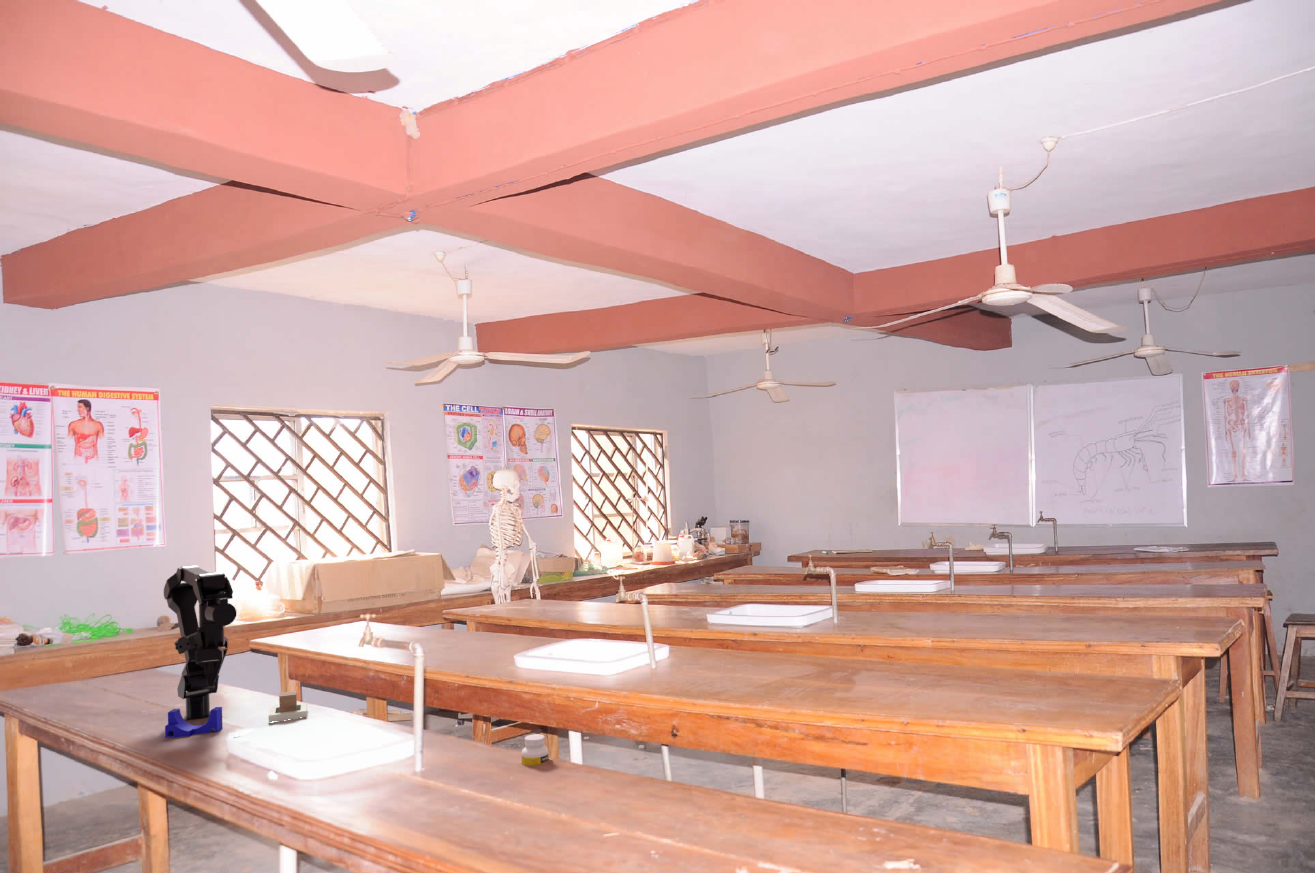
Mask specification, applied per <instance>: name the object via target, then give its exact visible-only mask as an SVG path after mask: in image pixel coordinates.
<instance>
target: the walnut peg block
mask: <svg viewBox="0 0 1315 873" xmlns="http://www.w3.org/2000/svg"><path fill="white" fill-rule="evenodd" d="M297 695H298V694H297V690H292V691H286V692H285V691H284V692H280V693H279V698H278V699H279V706H280V713H282V712H290V711H297V704H298V702H297V700H298V698H297V697H298V696H297Z"/></svg>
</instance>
